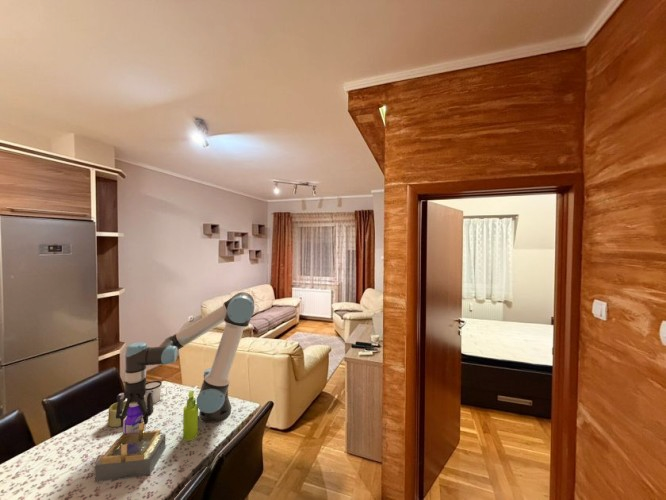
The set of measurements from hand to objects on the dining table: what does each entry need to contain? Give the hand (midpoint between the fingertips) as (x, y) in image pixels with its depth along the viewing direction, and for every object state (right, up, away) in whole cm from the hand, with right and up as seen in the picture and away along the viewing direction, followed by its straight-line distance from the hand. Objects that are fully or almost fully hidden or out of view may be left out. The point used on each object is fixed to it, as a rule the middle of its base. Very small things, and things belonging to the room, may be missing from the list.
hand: (134, 432), depth 121 cm
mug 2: (-12, -4, +32) cm, 35 cm away
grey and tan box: (+7, -4, -13) cm, 15 cm away
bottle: (0, -4, 0) cm, 4 cm away
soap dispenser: (+23, -5, +3) cm, 23 cm away
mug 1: (-15, -4, +12) cm, 20 cm away
